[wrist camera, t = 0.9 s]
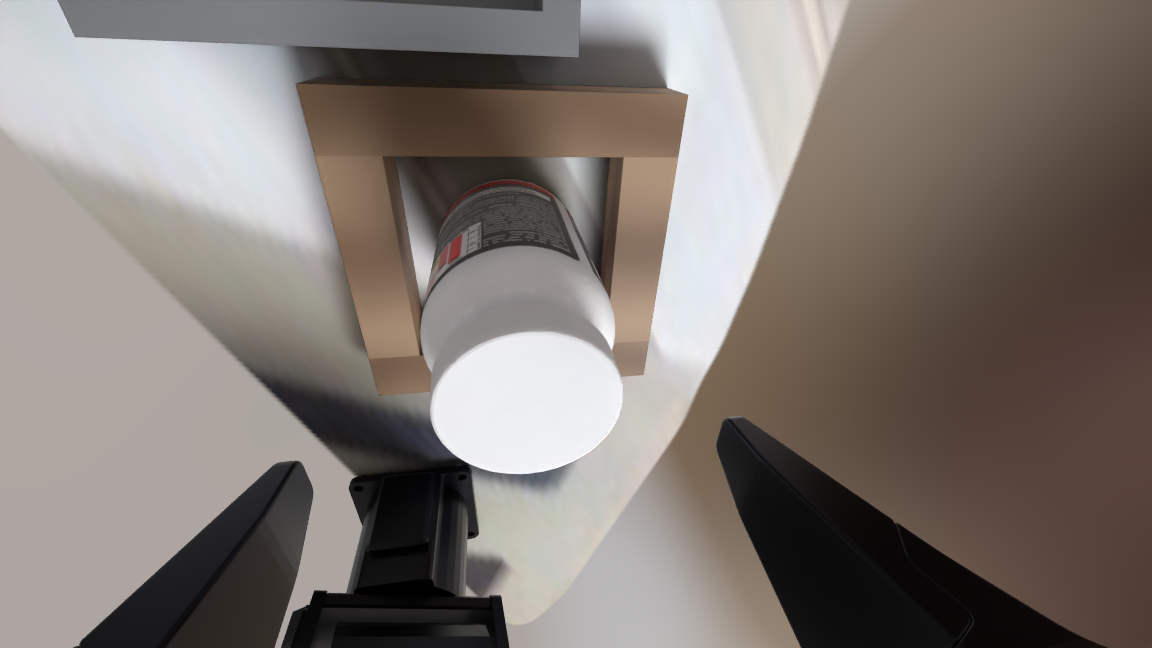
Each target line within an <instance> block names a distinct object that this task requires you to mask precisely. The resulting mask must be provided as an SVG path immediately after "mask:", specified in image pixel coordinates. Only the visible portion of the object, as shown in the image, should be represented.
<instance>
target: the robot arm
mask: <svg viewBox="0 0 1152 648" xmlns="http://www.w3.org/2000/svg"><path fill="white" fill-rule="evenodd" d="M716 444H717V445H716V447H717V452H718V456H719V459H720V461H721V464H722V467H723V470H724V473H725V476H726V479H727V482H728V485H729V488H730V490H731V493H732V496H733V499H734V502H735V505H736V508H737V510H738V513H739V515H740V517H741V520H742V522H743V524H744V526H745V529H746V531H747V533H748V535H749V537H750V539H751V541H752V544H753V546H754V548H755V550H756V552H757V554H758V557H759V559H760V561H761V563H762V565H763V567H764V569H765V572H766V574H767V576H768V578H769V580H770V582H771V584H772V587H773V589H774V591H775V593H776V595H777V597H778V599H779V601H780V604H781V606H782V608H783V610H784V612H785V614H786V616H787V619H788V621H789V623H790V625H791V627H792V629H793V632H794V634H795V636H796V638H797V640H798V642H799V644H800V647H801V648H1108V647H1105V646H1102V645H1100V644H1097V643H1095V642H1093V641H1091V640H1088V639H1086V638H1084V637H1082V636H1080V635H1078V634H1076V633H1074V632H1072V631H1070V630H1068V629H1066V628H1065V627H1063V626H1061V625H1059V624H1057V623H1056V622H1054V621H1052V620H1051V619H1049V618H1047V617H1046V616H1044V615H1042V614H1040V613H1039V612H1038V611H1036V610H1034V609H1033V608H1031V607H1029V606H1028V605H1026V604H1024V603H1023V602H1021V601H1019V600H1018V599H1016V598H1014V597H1013V596H1011V595H1009V594H1008V593H1006V592H1005V591H1003V590H1001V589H1000V588H998V587H996V586H994V585H993V584H991V583H990V582H988V581H986V580H985V579H983V578H981V577H980V576H978V575H977V574H975V573H973V572H972V571H970V570H968V569H967V568H965V567H964V566H962V565H960V564H959V563H957V562H956V561H954V560H952V559H951V558H949V557H948V556H946V555H945V554H943V553H941V552H940V551H938V550H937V549H936V548H934V547H933V546H931V545H930V544H928V543H927V542H925V541H924V540H922V539H920V538H919V537H918V536H916V535H914V534H913V533H911V532H910V531H909V530H907V529H906V528H904V527H903V526H901V525H900V524H898V523H896V522H895V523H894V521H893V520H892V519H891V518H890V517H888V516H887V515H885V514H884V513H882V512H881V511H879V510H878V509H876V508H875V507H874V506H872V505H871V504H869V503H868V502H866V501H865V500H863V499H862V498H861V497H859V496H858V495H856V494H855V493H853V492H852V491H850V490H849V489H848V488H846V487H845V486H843V485H842V484H840V483H839V482H837V481H836V480H834V479H833V478H832V477H830V476H829V475H827V474H826V473H824V472H823V471H821V470H820V469H818V468H817V467H816V466H814V465H813V464H811V463H810V462H808V461H807V460H805V459H804V458H802V457H801V456H799V455H798V454H797V453H795V452H794V451H792V450H791V449H789V448H788V447H787V446H785V445H784V444H782V443H781V442H779V441H778V440H776V439H775V438H773V437H772V436H771V435H769V434H768V433H766V432H765V431H763V430H762V429H760V428H759V427H757V426H756V425H755V424H753V423H752V422H750V421H749V420H747V419H746V418H744V417H741V416H736V417H727V418H725V419H724V420H723V422H722V426H721V429H720V432H719V435H718V439H717V443H716ZM349 491H350V494H351V496H352V499H353V502H354V504H355V507H356V510H357V513H358V515H359V518H360V521H361V523H362V526H363V527H362V531H361V535H360V540H359V543H358V548H357V551H356V556H355V559H354V563H353V567H352V571H351V576H350V580H349V584H348V588H347V592H346V593H327V591H320V590H314V593H313V596H312V599H311V602H310V605H306V607H303V608H301V609H299V610H296V611H294V612H293V613H292V616H291V619H290V622H289V625H288V628H287V631H286V634H285V637H284V640H283V643H282V646H281V648H509V642H508V636H507V631H506V624H505V617H504V611H503V605H502V599H501V595H490V596H489V597H468V596H465V590H466V563H467V539H472V538H475V537H477V536H478V534H479V525H478V517H477V509H476V502H475V494H474V486H473V479H472V471H471V469H470V468H469V467H467V466H456V467H447V468H437V469H428V470H418V471H409V472H399V473H389V474H380V475H370V476H361V477H355V478H353V479H352V480H351V482H350V486H349ZM312 499H313V488H312V485H311V482H310V480H309V478H308V476H307V473H306V471H305V469H304V466H303V465H302V463H301V462H299V461H289V462H280V463H277V464H275V465H274V466H272V467H271V468H270V469H269V470H268V471H267V472H266V473H264V474H263V475H262V476H261V477H260V478H259V479H258V480H257V481H256V482H255V483H253V484H252V485H251V486H250V487H249V488H248V489H247V490H246V491H245V492H244V493H243V494H241V495H240V496H239V497H238V498H237V499H236V500H235V501H234V502H233V503H231V504H230V505H229V506H228V507H227V508H226V509H225V510H224V511H223V512H222V513H221V514H219V515H218V516H217V517H216V518H215V519H214V520H213V521H212V522H211V523H210V524H208V525H207V526H206V527H205V528H204V529H203V530H202V531H201V532H200V533H199V534H197V535H196V536H195V537H194V538H193V539H192V540H191V541H190V542H189V543H188V544H187V545H186V546H184V547H183V548H182V549H181V550H180V551H179V552H178V553H177V554H176V555H175V556H173V557H172V558H171V559H170V560H169V561H168V562H167V563H166V564H165V565H164V566H162V567H161V568H160V569H159V570H158V571H157V572H156V573H155V574H154V575H153V576H151V577H150V578H149V579H148V580H147V581H146V582H145V583H144V584H143V585H142V586H141V587H139V588H138V589H137V590H136V591H135V592H134V593H133V594H132V595H131V596H130V597H128V598H127V599H126V600H125V601H124V602H123V603H122V604H121V605H120V606H119V607H118V608H116V609H115V610H114V611H113V612H112V613H111V614H110V615H109V616H108V617H107V618H105V619H104V620H103V621H102V622H101V623H100V624H99V625H98V626H97V627H96V628H95V629H93V630H92V631H91V632H90V633H89V634H88V635H87V636H86V637H85V638H84V639H82V640H81V642H80V644H79V646H76V647H74V648H274V647H275V644H276V641H277V638H278V635H279V632H280V628H281V625H282V622H283V619H284V616H285V613H286V610H287V606H288V603H289V600H290V597H291V594H292V591H293V587H294V584H295V581H296V577H297V573H298V569H299V564H300V560H301V554H302V550H303V545H304V540H305V535H306V530H307V525H308V520H309V514H310V509H311V505H312Z"/></svg>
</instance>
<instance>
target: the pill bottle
mask: <svg viewBox="0 0 1152 648" xmlns="http://www.w3.org/2000/svg"><path fill="white" fill-rule="evenodd" d="M420 338H421V346H422V352H423V355H424V358H425V361H426V363H427V366H428V368H429V369H430V371H431V373H432V375H431V391H430V401H429V411H430V418H431V422H432V425H433V428H434V430H435V432H436V434H437V436H438V437H439V439H440V440H441V442H442V443H443V444H444V445H445V446H446V448H447V449H448V450H450V451H451V452H452V453H453V454H454V455H456V456H457V457H458V458H460V459H462V460H463V461H465V462H467V463H469V464H471V465H473V466H476V467H478V468H481V469H485V470H489V471H492V472H499V473H509V474H528V473H535V472H543V471H547V470H551V469H555V468H558V467H560V466H563V465H566V464H568V463H571V462H573V461H575V460H576V459H578V458H580V457H582V456H584V455H585V454H587V453H588V452H590V451H591V450H592V449H594V448H595V447H596V446H597V445H598V444H599V443H600V442H601V441H602V440H603V439H604V438H605V437H606V436H607V435H608V434H609V432H610V431H611V429H612V428H613V426H614V425H615V423H616V421H617V419H618V417H619V414H620V410H621V407H622V402H623V385H622V379H621V375H620V372H619V369H618V366H617V364H616V361H615V358H614V355H613V353H612V349H613V345H614V339H615V319H614V313H613V309H612V306H611V302H610V299H609V296H608V293H607V291H606V289H605V287H604V285H603V283H602V281H601V279H600V277H599V274H598V272H597V270H596V268H595V266H594V263H593V261H592V259H591V257H590V255H589V252H588V250H587V248H586V246H585V244H584V242H583V239H582V237H581V235H580V233H579V231H578V228H577V226H576V224H575V222H574V220H573V218H572V216H571V215H570V213H569V212H568V210H567V209H566V207H565V206H564V205H563V204H562V203H561V202H560V201H559V200H558V199H557V198H556V197H555V196H554V195H553V194H551V193H550V192H548V191H547V190H545V189H544V188H542V187H540V186H537V185H535V184H533V183H529V182H526V181H521V180H514V179H502V180H494V181H489V182H486V183H483V184H480V185H478V186H476V187H474V188H472V189H470V190H469V191H467V192H466V193H464V194H463V195H462V196H461V197H460V198H458V199H457V200H456V201H455V203H454V204H453V205H452V206H451V207H450V209H449V211H448V212H447V214H446V215H445V218H444V219H443V222H442V224H441V227H440V230H439V234H438V240H437V245H436V250H435V255H434V260H433V265H432V269H431V274H430V279H429V283H428V288H427V293H426V298H425V303H424V307H423V311H422V320H421V329H420Z"/></svg>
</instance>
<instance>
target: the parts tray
mask: <svg viewBox="0 0 1152 648" xmlns="http://www.w3.org/2000/svg"><path fill="white" fill-rule="evenodd" d="M58 2H59V4H60V7H61V9H62V11H63V13H64V15H65V17H66V19H67V21H68V23H69V25H70V27H71V29H72V32H73V34H74V36H75V37H87V38H112V39H137V40H161V41H186V42H211V43H235V44H260V45H285V46H309V47H334V48H359V49H383V50H408V51H433V52H457V53H482V54H507V55H531V56H556V57H579V34H580V8H581V0H58Z"/></svg>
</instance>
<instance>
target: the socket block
mask: <svg viewBox="0 0 1152 648" xmlns="http://www.w3.org/2000/svg"><path fill="white" fill-rule="evenodd" d="M296 87H297V91H298V95H299V98H300V102H301V106H302V110H303V114H304V117H305V121H306V125H307V129H308V132H309V136H310V140H311V144H312V147H313V151H314V155H315V159H316V162H317V166H318V170H319V174H320V177H321V181H322V185H323V189H324V192H325V196H326V200H327V204H328V207H329V211H330V215H331V219H332V222H333V226H334V230H335V234H336V237H337V241H338V245H339V249H340V252H341V256H342V260H343V264H344V267H345V271H346V275H347V279H348V283H349V286H350V290H351V294H352V298H353V301H354V305H355V309H356V313H357V316H358V320H359V324H360V328H361V331H362V335H363V339H364V343H365V346H366V350H367V354H368V358H369V361H370V365H371V369H372V373H373V376H374V380H375V384H376V388H377V391H378V395H391V394H404V393H417V392H430V391H431V375H432V373H431V371H430V369H429V368H428V366H427V363H426V361H425V358H424V355H423V352H422V346H421V338H420V329H421V320H422V309H421V303H420V298H419V292H418V286H417V280H416V274H415V268H414V263H413V257H412V251H411V245H410V239H409V234H408V228H407V222H406V216H405V210H404V205H403V199H402V193H401V187H400V181H399V176H398V170H397V164H396V158H395V156H429V157H610V160H609V173H608V186H607V198H606V211H605V223H604V236H603V249H602V261H601V274H600V279H601V281H602V283H603V285H604V287H605V289H606V291H607V293H608V296H609V299H610V302H611V306H612V309H613V313H614V319H615V339H614V345H613V349H612V353H613V355H614V358H615V361H616V364H617V366H618V369H619V372H620V375H621V377H623V376H636V375H644V368H645V362H646V356H647V350H648V343H649V337H650V331H651V325H652V318H653V312H654V306H655V299H656V293H657V287H658V281H659V274H660V268H661V262H662V256H663V249H664V243H665V237H666V230H667V224H668V218H669V212H670V205H671V199H672V193H673V187H674V180H675V174H676V168H677V162H678V155H679V149H680V143H681V136H682V130H683V124H684V118H685V111H686V105H687V99H688V95H687V94H684V93H681V92H678V91H675V90H672V89H669V88H643V87H610V86H577V85H544V84H511V83H478V82H445V81H411V80H378V79H345V78H314V79H311V80H307V81H304V82H300V83H297V84H296Z"/></svg>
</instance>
